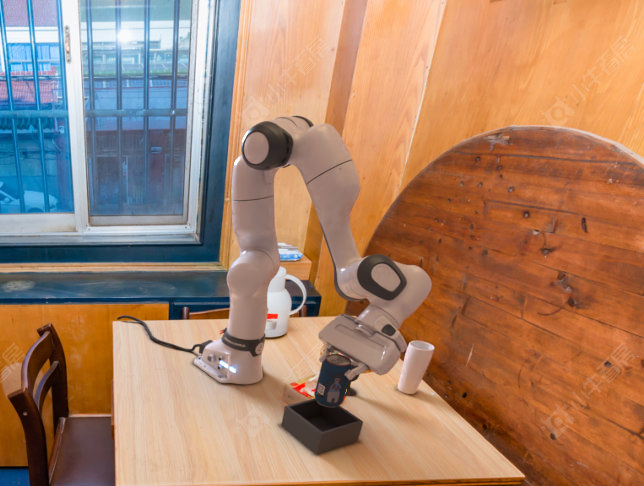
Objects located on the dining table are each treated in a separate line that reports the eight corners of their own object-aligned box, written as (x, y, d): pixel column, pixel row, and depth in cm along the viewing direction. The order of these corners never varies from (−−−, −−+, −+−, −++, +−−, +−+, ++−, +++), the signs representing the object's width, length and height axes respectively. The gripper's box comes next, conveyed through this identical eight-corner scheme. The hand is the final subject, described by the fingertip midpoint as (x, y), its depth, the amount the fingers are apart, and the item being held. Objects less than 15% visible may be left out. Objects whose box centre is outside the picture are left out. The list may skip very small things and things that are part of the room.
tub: (280, 425, 136) (284, 406, 133) (320, 414, 141) (324, 395, 138) (316, 454, 125) (321, 434, 122) (357, 441, 130) (363, 421, 127)
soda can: (328, 392, 132) (339, 350, 126) (348, 405, 127) (360, 363, 121) (307, 397, 130) (317, 355, 124) (326, 411, 124) (337, 368, 118)
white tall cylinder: (421, 397, 150) (438, 351, 142) (397, 394, 151) (412, 349, 144) (415, 386, 156) (431, 341, 148) (391, 383, 157) (406, 339, 149)
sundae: (347, 399, 148) (360, 353, 141) (330, 388, 154) (341, 343, 146) (363, 394, 151) (376, 348, 143) (345, 383, 156) (357, 339, 149)
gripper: (337, 304, 128) (299, 345, 129) (405, 336, 112) (361, 383, 113) (346, 318, 132) (309, 358, 133) (413, 350, 116) (371, 396, 117)
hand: (334, 370), depth 123 cm, fingers closed on soda can, 7 cm apart
